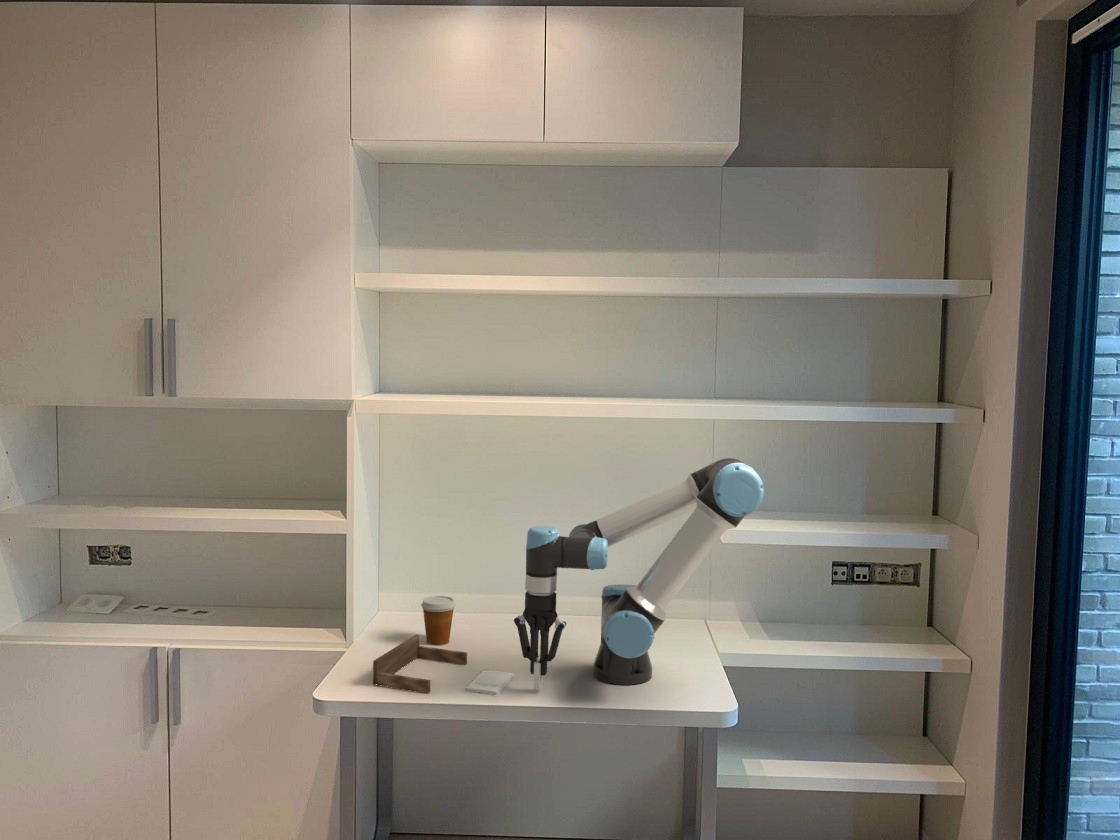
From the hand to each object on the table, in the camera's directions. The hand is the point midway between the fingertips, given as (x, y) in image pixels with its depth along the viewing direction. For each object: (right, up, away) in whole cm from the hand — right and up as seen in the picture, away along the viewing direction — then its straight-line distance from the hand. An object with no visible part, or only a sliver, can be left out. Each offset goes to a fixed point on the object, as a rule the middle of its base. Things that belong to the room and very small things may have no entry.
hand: (538, 687), depth 209 cm
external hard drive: (-12, -1, +4) cm, 13 cm away
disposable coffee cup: (-29, +2, +35) cm, 46 cm away
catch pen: (-29, 0, +10) cm, 31 cm away
